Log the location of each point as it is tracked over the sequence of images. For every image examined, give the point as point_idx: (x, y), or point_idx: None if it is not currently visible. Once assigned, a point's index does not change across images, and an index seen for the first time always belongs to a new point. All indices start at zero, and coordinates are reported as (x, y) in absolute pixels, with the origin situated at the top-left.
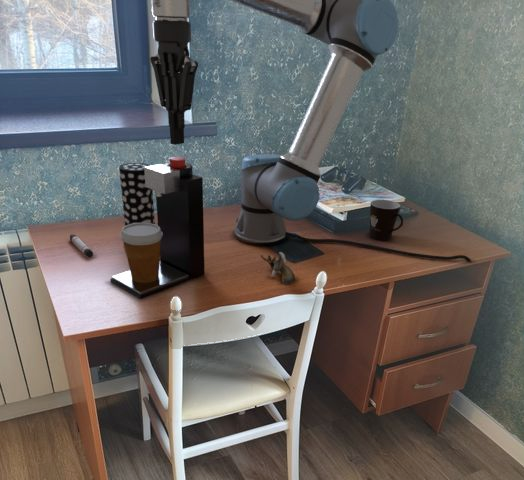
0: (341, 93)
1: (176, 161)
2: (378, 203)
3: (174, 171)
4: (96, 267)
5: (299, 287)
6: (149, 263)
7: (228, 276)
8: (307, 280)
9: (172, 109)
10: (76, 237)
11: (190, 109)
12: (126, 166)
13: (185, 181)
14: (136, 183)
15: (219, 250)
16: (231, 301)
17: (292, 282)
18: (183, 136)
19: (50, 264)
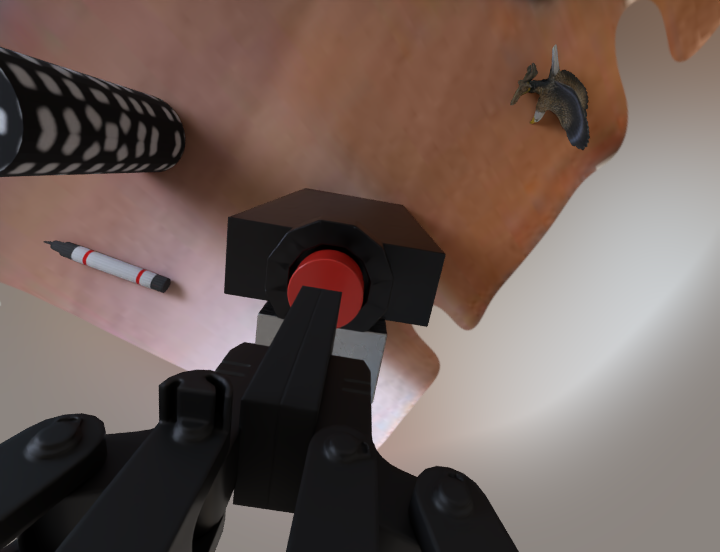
0: None
1: (348, 322)
2: None
3: (381, 358)
4: (217, 305)
5: (606, 124)
6: None
7: (447, 177)
8: (611, 77)
9: (230, 489)
10: (78, 256)
11: (464, 474)
12: None
13: (415, 323)
14: (59, 158)
15: (344, 63)
16: (508, 262)
17: (586, 116)
18: (338, 311)
19: (150, 343)
